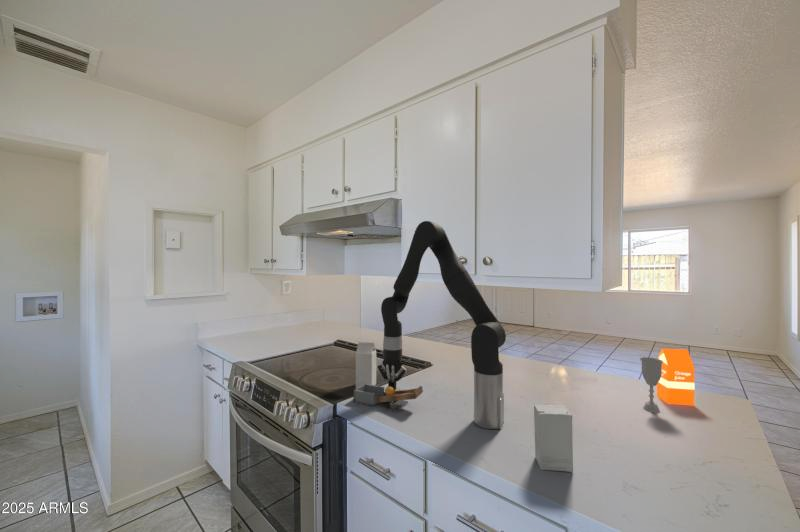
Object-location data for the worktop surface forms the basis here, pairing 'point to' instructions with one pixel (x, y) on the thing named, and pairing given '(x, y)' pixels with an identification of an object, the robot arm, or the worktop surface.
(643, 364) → the chalice
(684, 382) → the orange juice
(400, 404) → the fulcrum
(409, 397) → the lever
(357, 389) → the tray
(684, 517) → the worktop surface
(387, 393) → the ball
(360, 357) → the milk carton
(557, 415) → the skincare box
